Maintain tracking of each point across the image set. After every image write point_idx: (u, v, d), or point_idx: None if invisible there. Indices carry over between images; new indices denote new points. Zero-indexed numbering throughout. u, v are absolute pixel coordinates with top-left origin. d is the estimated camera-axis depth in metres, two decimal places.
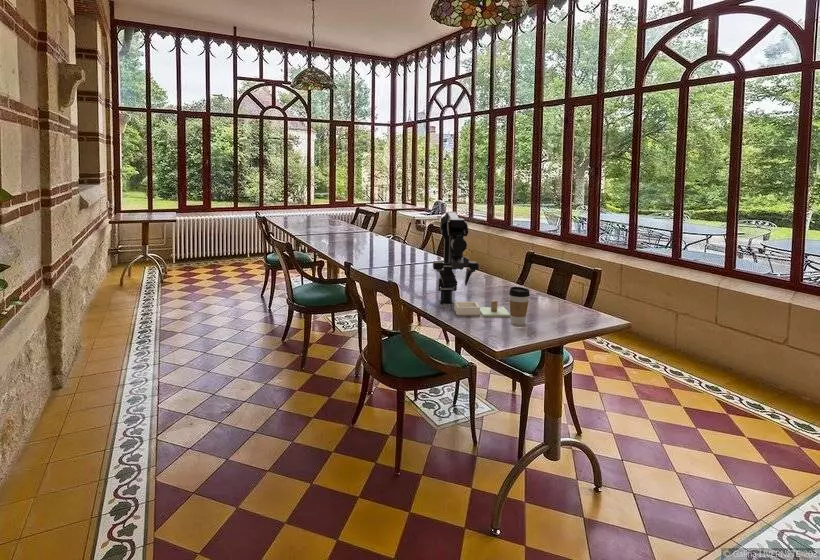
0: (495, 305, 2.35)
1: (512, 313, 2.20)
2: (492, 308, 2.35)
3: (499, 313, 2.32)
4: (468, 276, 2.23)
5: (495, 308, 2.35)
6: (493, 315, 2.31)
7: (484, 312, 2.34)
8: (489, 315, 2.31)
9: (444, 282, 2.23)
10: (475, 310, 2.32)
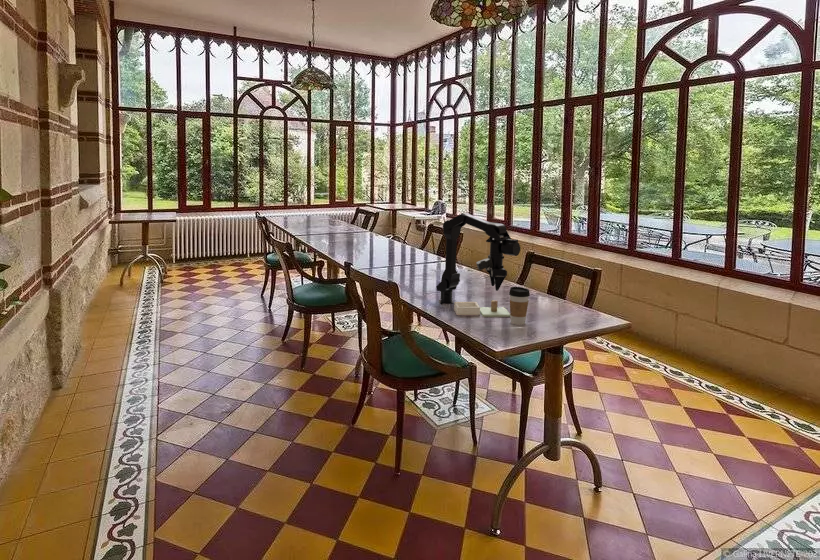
0: (495, 305, 2.35)
1: (512, 313, 2.20)
2: (492, 308, 2.35)
3: (499, 313, 2.32)
4: (494, 281, 2.28)
5: (495, 308, 2.35)
6: (493, 315, 2.31)
7: (484, 312, 2.34)
8: (489, 315, 2.31)
9: (491, 282, 2.38)
10: (475, 310, 2.32)
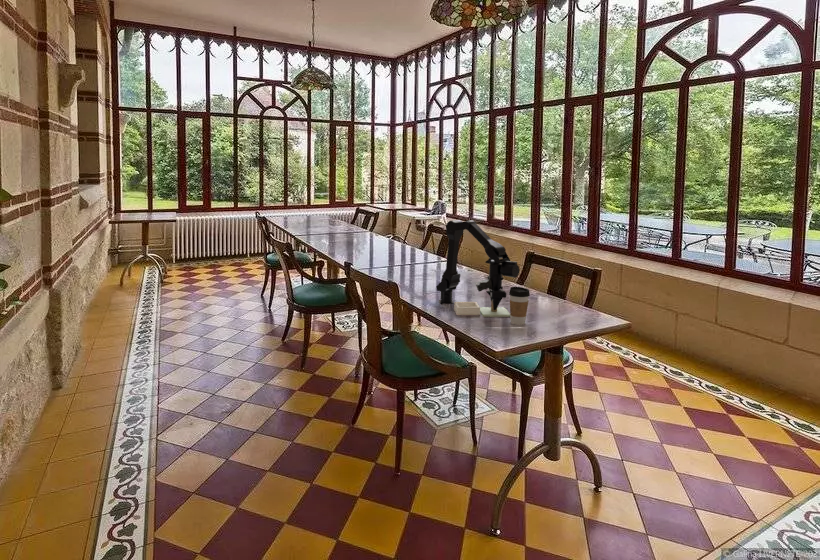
0: None
1: (512, 313, 2.20)
2: (492, 308, 2.35)
3: (499, 313, 2.32)
4: (492, 300, 2.33)
5: None
6: (493, 315, 2.31)
7: (484, 312, 2.34)
8: (489, 315, 2.31)
9: None
10: (475, 310, 2.32)
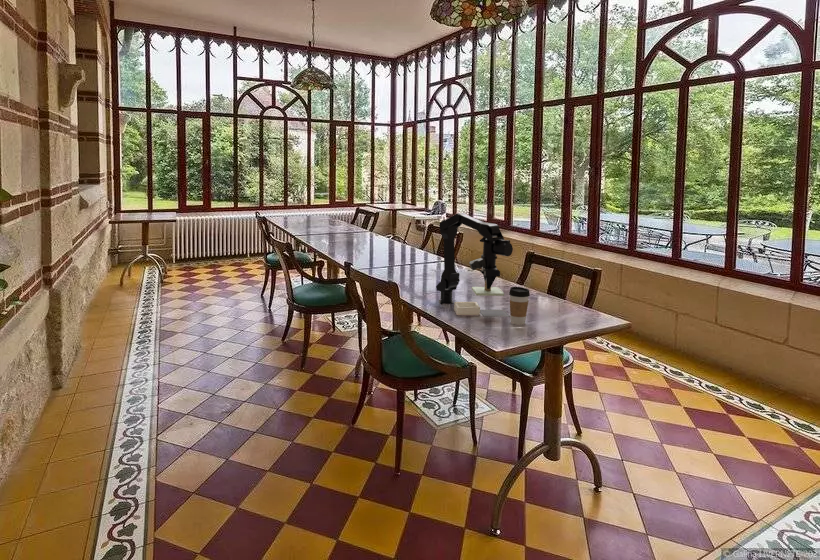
0: None
1: (512, 313, 2.20)
2: (486, 287, 2.34)
3: (493, 292, 2.31)
4: (486, 279, 2.31)
5: None
6: (487, 294, 2.29)
7: (478, 291, 2.32)
8: (483, 294, 2.29)
9: None
10: (475, 310, 2.32)
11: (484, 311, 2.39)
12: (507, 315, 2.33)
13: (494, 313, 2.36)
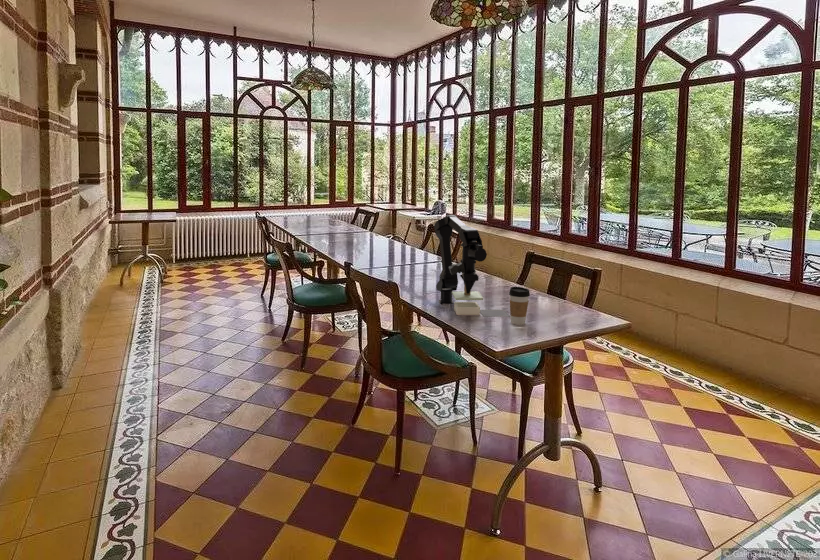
0: None
1: (512, 313, 2.20)
2: (465, 292, 2.34)
3: (472, 296, 2.31)
4: (465, 284, 2.32)
5: None
6: (466, 298, 2.30)
7: (457, 296, 2.33)
8: (462, 298, 2.30)
9: None
10: (475, 310, 2.32)
11: (484, 311, 2.39)
12: (507, 315, 2.33)
13: (494, 313, 2.36)
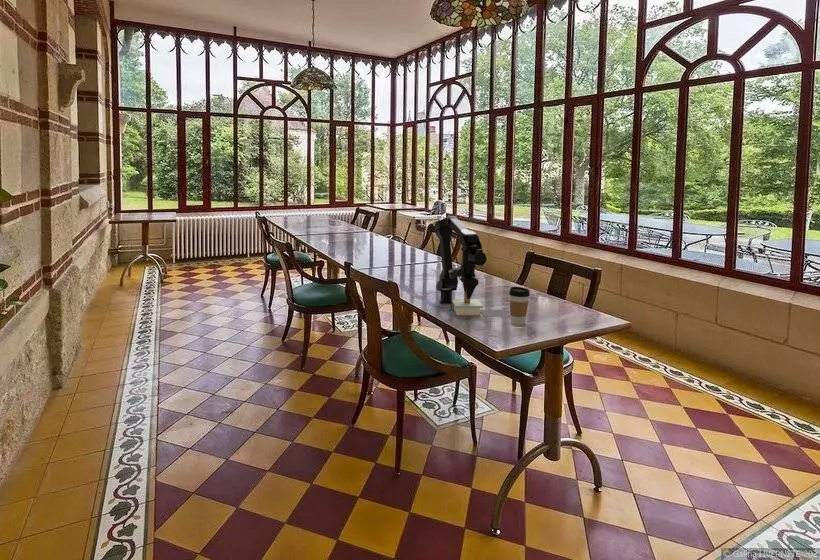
0: None
1: (512, 313, 2.20)
2: (465, 299, 2.35)
3: (472, 304, 2.32)
4: (466, 289, 2.30)
5: (468, 299, 2.35)
6: (465, 306, 2.30)
7: (457, 303, 2.33)
8: (461, 306, 2.30)
9: (464, 291, 2.39)
10: (475, 310, 2.32)
11: (484, 311, 2.39)
12: (507, 315, 2.33)
13: (494, 313, 2.36)
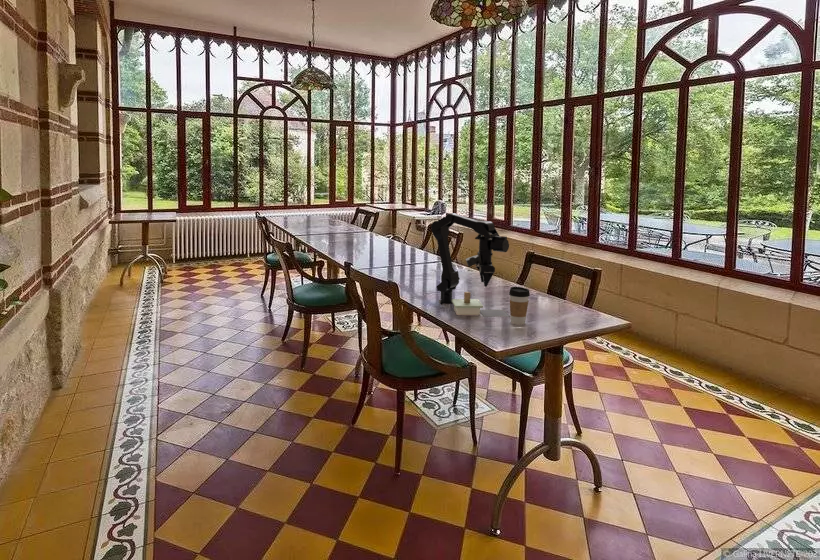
0: (468, 296, 2.34)
1: (512, 313, 2.20)
2: (465, 299, 2.35)
3: (472, 304, 2.32)
4: (483, 277, 2.34)
5: (468, 299, 2.35)
6: (465, 306, 2.30)
7: (457, 303, 2.33)
8: (461, 306, 2.30)
9: None
10: (475, 310, 2.32)
11: (484, 311, 2.39)
12: (507, 315, 2.33)
13: (494, 313, 2.36)
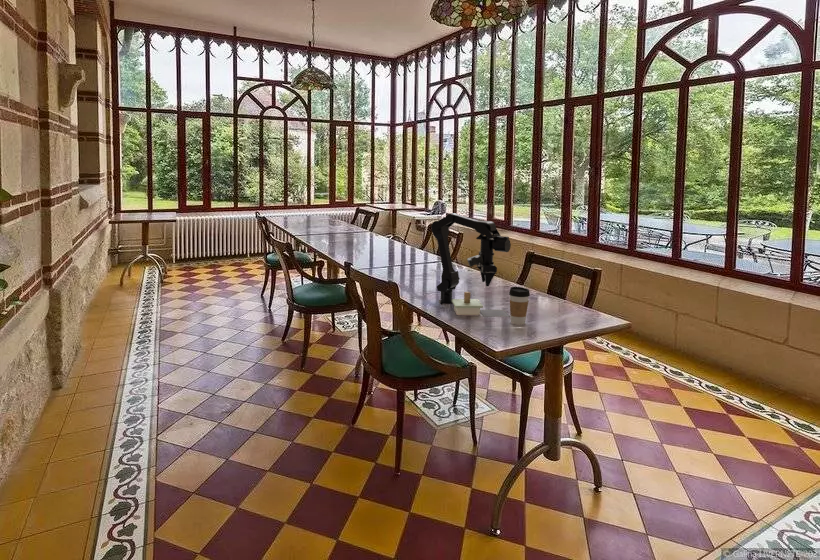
0: (468, 296, 2.34)
1: (512, 313, 2.20)
2: (465, 299, 2.35)
3: (472, 304, 2.32)
4: (485, 277, 2.35)
5: (468, 299, 2.35)
6: (465, 306, 2.30)
7: (457, 303, 2.33)
8: (461, 306, 2.30)
9: None
10: (475, 310, 2.32)
11: (484, 311, 2.39)
12: (507, 315, 2.33)
13: (494, 313, 2.36)
